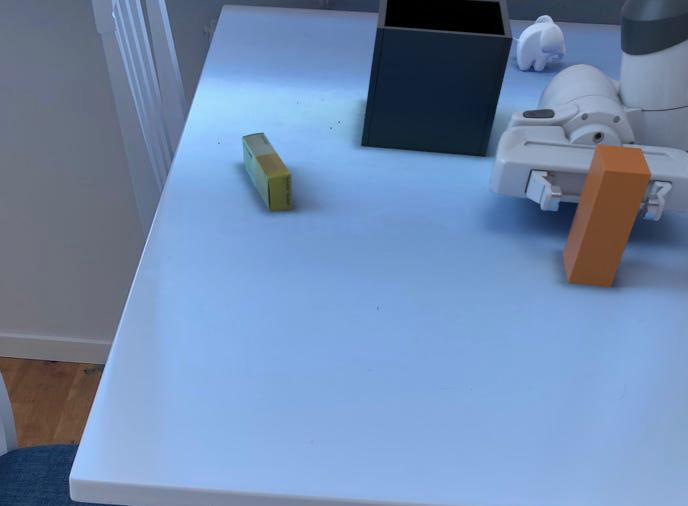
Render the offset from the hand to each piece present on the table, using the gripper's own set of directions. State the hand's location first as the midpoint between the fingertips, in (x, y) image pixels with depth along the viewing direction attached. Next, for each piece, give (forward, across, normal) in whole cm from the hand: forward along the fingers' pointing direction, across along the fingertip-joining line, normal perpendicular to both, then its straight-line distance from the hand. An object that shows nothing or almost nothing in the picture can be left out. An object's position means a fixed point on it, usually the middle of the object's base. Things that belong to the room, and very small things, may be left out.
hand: (602, 207), depth 89 cm
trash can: (-32, +16, -6) cm, 36 cm away
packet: (+2, 0, -6) cm, 6 cm away
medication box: (-11, +33, -6) cm, 35 cm away
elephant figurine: (-61, 0, -6) cm, 61 cm away
